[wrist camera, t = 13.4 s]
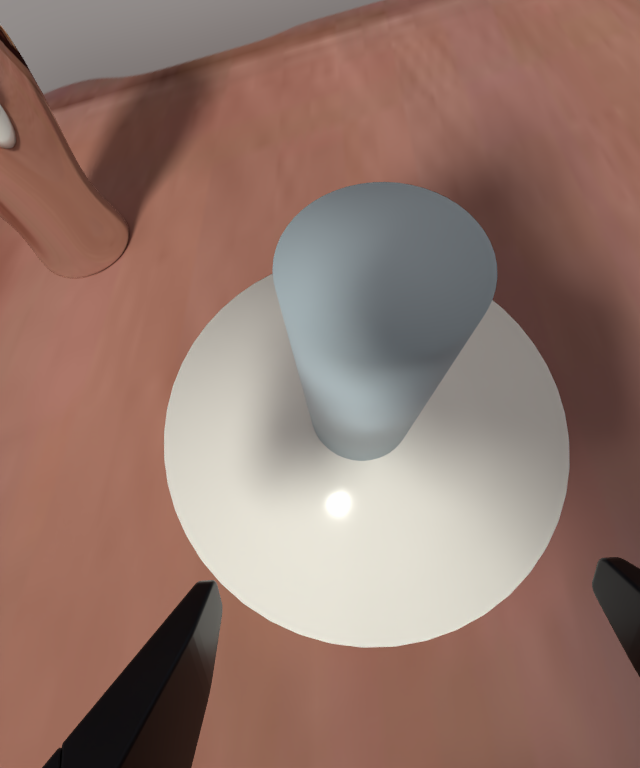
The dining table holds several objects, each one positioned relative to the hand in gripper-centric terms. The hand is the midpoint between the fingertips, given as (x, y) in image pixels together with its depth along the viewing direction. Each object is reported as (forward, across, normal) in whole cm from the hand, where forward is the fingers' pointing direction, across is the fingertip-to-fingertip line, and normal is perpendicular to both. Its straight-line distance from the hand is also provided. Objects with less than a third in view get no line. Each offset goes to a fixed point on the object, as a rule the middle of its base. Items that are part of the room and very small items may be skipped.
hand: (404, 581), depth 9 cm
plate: (+11, 0, +2) cm, 11 cm away
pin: (+10, 0, +1) cm, 10 cm away
